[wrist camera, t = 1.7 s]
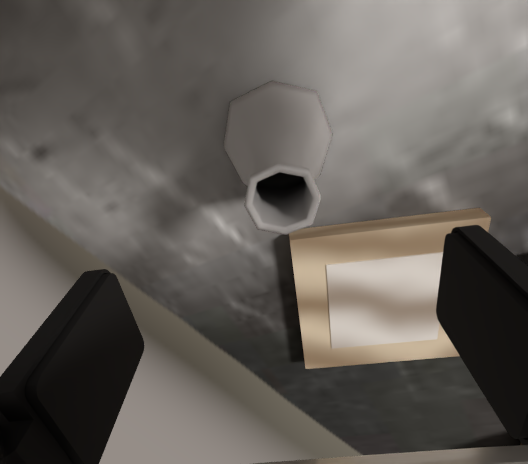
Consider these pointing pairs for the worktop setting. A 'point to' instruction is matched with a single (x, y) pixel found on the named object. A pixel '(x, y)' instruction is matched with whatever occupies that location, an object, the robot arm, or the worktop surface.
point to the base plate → (374, 288)
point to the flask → (279, 153)
